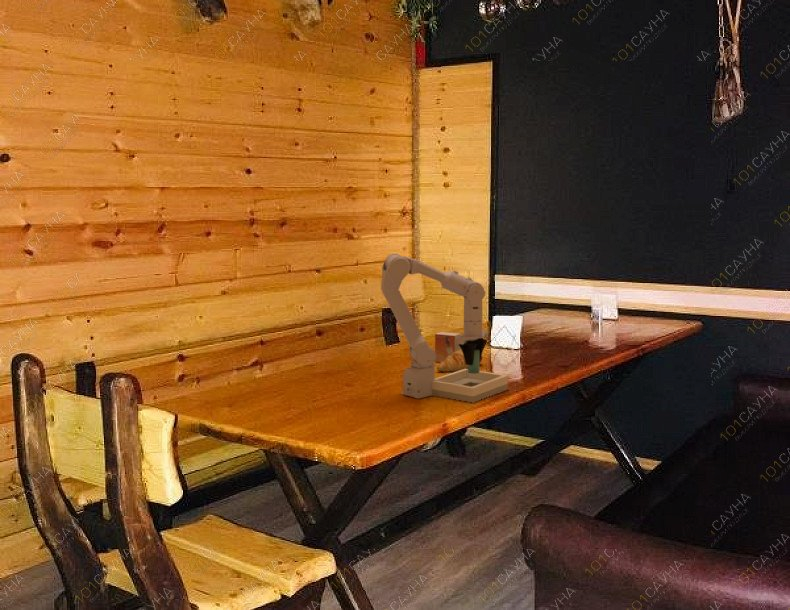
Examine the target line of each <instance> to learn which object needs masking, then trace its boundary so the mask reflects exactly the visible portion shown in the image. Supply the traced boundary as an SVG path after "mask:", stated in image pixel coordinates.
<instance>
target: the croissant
mask: <svg viewBox="0 0 790 610" xmlns="http://www.w3.org/2000/svg"><path fill="white" fill-rule="evenodd" d="M482 361H483V355H482V356H481V360H480V363H479V365H480V364H481V363H482ZM463 369H468V365H466V363H465V359H464V355H463V352H462V350H458V351H455V352H453V353H452V354H450V356H448V357H447V358H446V359H445V360H444V361H442V362H439V364H438V365H436V370H437V371H438V372H441V373H442V372H443V373H447V372H448V373H449V372H451V373H454V372H457V371H460V370H463Z"/></svg>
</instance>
